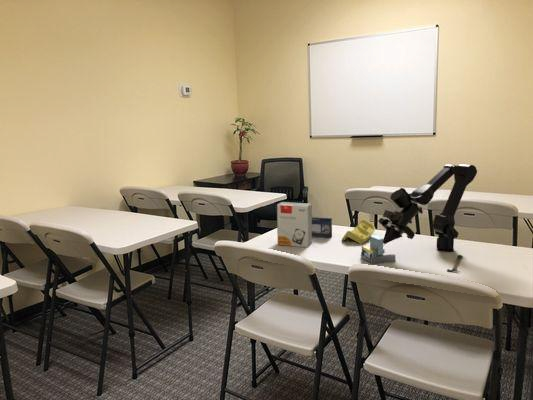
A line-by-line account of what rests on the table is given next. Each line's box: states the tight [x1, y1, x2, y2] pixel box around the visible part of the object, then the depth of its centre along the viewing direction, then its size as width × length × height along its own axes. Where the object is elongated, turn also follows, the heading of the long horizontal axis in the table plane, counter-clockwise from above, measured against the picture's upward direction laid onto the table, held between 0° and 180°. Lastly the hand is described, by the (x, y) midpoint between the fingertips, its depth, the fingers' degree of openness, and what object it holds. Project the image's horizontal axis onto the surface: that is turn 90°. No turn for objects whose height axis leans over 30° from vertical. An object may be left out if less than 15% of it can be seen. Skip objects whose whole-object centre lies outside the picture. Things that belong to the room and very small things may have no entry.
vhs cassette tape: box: [312, 216, 333, 239], centre depth 210 cm, size 18×3×10 cm, turn 70°
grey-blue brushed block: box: [364, 234, 384, 259], centre depth 171 cm, size 6×6×8 cm
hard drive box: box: [276, 201, 313, 248], centre depth 196 cm, size 16×8×20 cm, turn 68°
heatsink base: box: [360, 245, 397, 265], centre depth 172 cm, size 11×9×5 cm
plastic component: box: [341, 219, 376, 244], centre depth 205 cm, size 20×7×10 cm
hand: (383, 243), depth 172 cm, fingers closed
